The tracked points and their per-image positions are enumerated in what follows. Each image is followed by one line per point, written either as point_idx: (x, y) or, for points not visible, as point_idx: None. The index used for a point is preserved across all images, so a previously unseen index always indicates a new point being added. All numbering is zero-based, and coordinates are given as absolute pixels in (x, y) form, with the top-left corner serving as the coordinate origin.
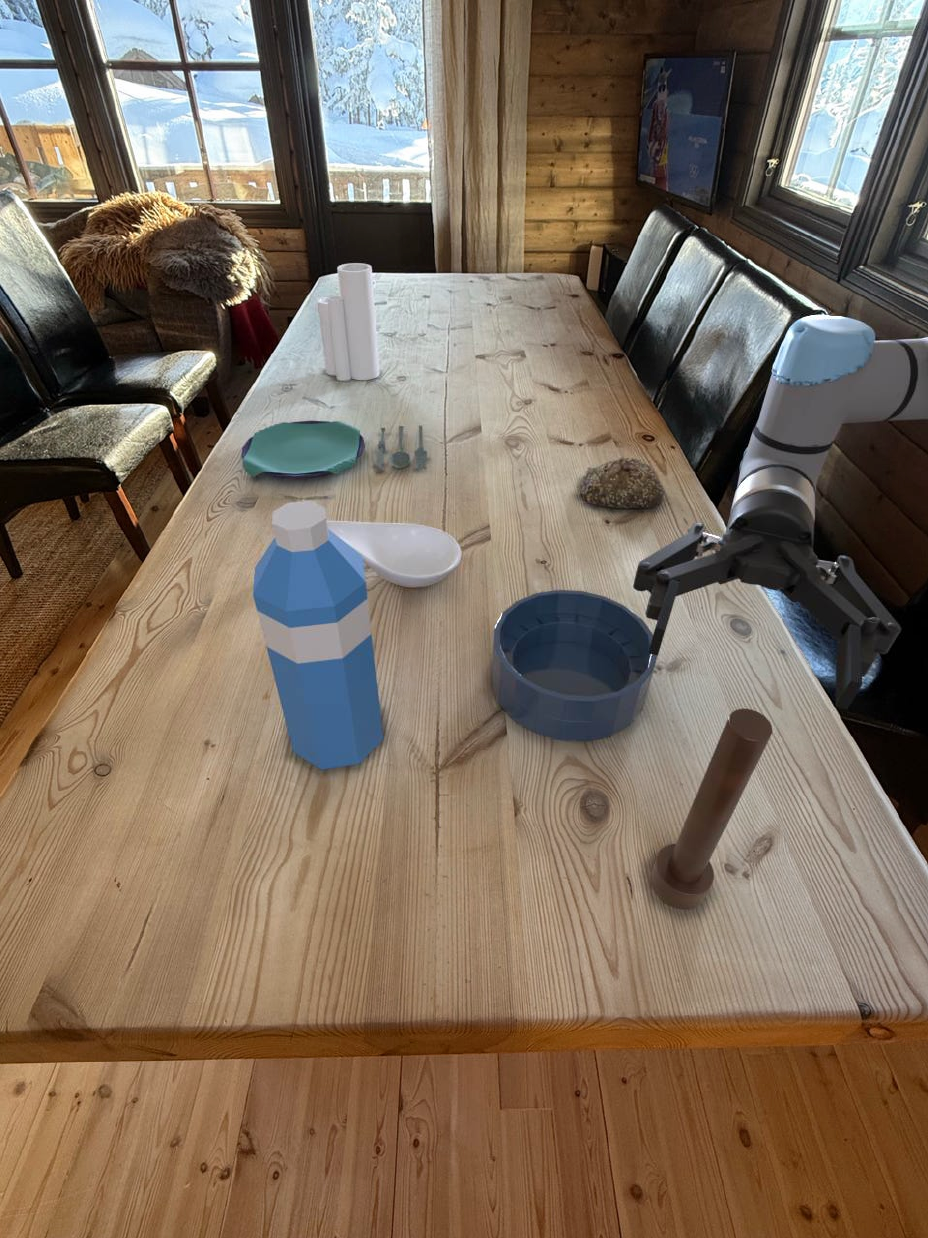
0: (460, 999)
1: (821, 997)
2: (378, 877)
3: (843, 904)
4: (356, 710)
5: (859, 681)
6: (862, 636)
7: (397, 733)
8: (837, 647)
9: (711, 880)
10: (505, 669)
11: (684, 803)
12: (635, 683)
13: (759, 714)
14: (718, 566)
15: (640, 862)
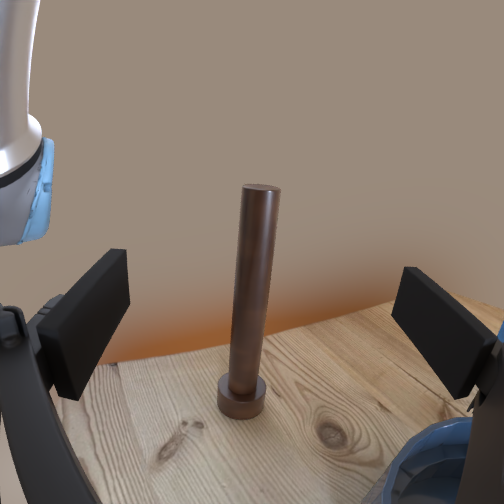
0: (330, 324)
1: (138, 364)
2: (405, 345)
3: (104, 416)
4: (500, 336)
5: (113, 249)
6: (34, 338)
7: None
8: (76, 396)
9: (219, 382)
10: None
11: (252, 471)
12: (389, 489)
13: (256, 188)
14: (491, 479)
15: (274, 408)
